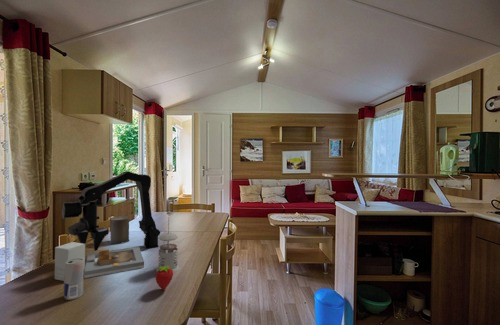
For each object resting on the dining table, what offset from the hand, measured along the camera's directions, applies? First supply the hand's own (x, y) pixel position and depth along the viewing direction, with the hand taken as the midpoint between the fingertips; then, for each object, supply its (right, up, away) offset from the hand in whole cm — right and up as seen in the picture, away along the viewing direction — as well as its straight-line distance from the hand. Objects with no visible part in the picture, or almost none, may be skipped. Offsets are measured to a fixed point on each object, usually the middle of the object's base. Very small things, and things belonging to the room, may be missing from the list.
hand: (89, 248), depth 115 cm
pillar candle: (-1, -6, +30) cm, 30 cm away
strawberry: (+43, -7, -25) cm, 50 cm away
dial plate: (+13, -6, -1) cm, 14 cm away
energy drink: (+14, -6, -30) cm, 33 cm away
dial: (+13, -5, -1) cm, 14 cm away
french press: (+38, -7, -6) cm, 39 cm away
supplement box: (+2, -6, -15) cm, 17 cm away
